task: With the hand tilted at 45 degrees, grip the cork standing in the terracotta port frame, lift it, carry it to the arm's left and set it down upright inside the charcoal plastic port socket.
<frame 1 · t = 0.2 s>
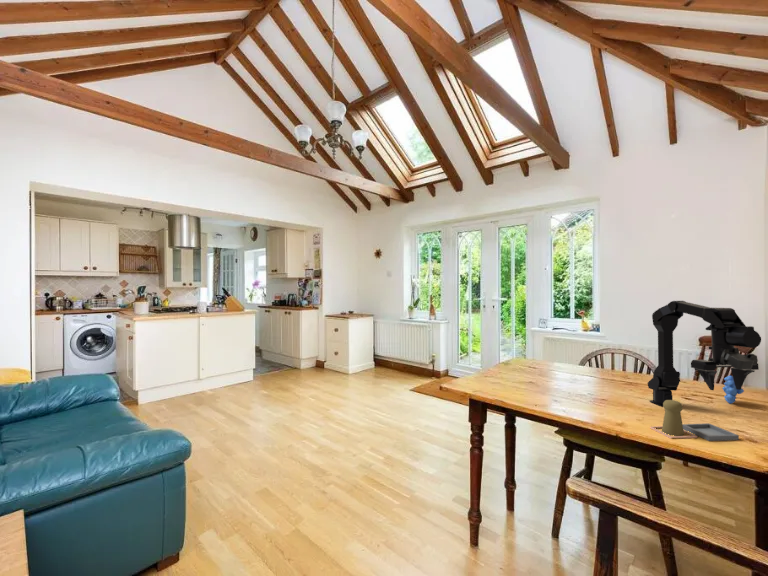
hand: (725, 389, 125), 14 cm above the table, tool pointing down, fingers open, 9 cm apart
grapes: (733, 404, 152), on the table
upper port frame: (672, 432, 124), on the table
lower port socket: (709, 434, 123), on the table
cork: (672, 433, 124), resting in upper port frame
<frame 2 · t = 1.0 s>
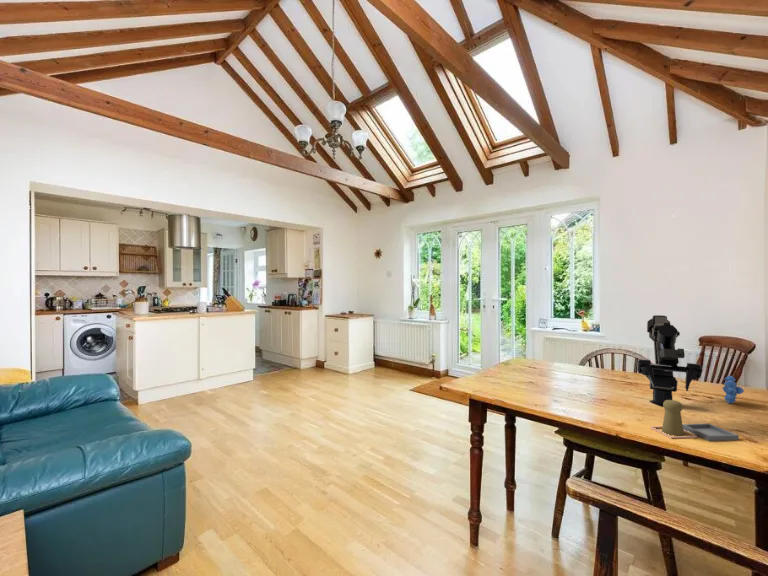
hand: (670, 388, 130), 13 cm above the table, tool tilted 45°, fingers open, 9 cm apart
nothing on the table moved.
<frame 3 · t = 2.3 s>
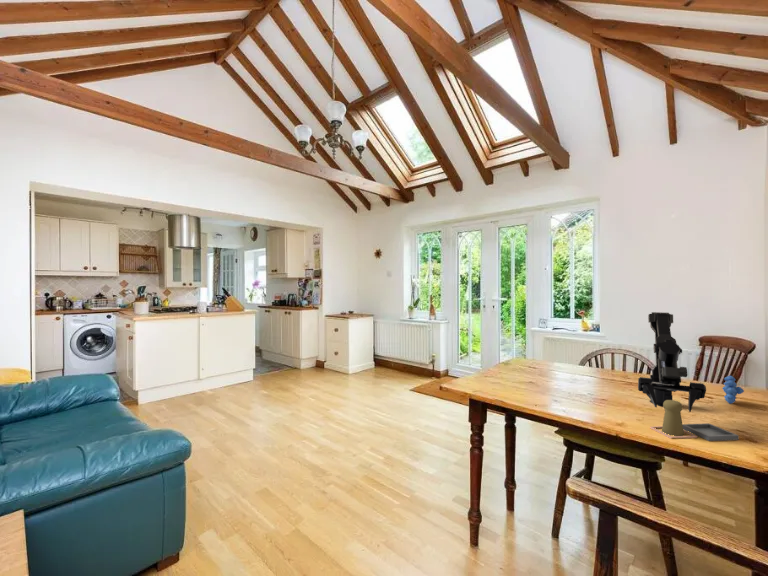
hand: (672, 409, 124), 8 cm above the table, tool tilted 45°, fingers open, 9 cm apart
nothing on the table moved.
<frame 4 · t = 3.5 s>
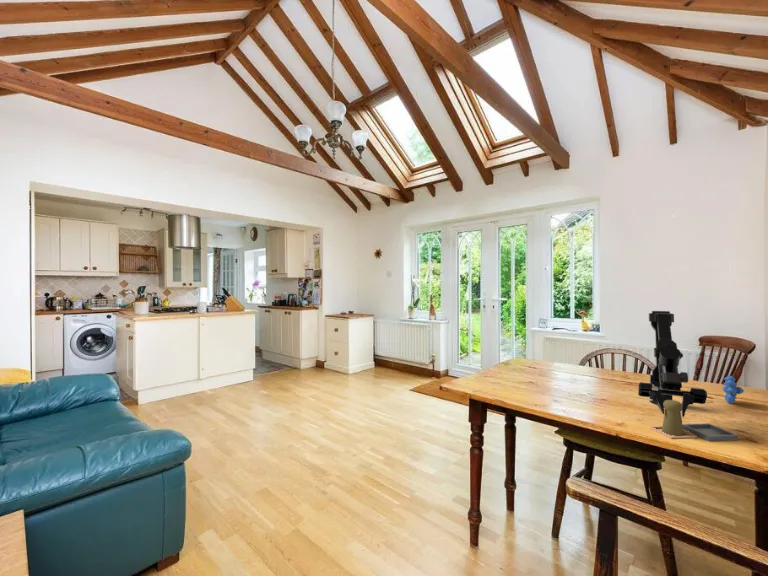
hand: (673, 414, 123), 7 cm above the table, tool tilted 45°, fingers closed on cork, 5 cm apart
cork: (672, 433, 124), resting in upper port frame, touching gripper
everything else where it was.
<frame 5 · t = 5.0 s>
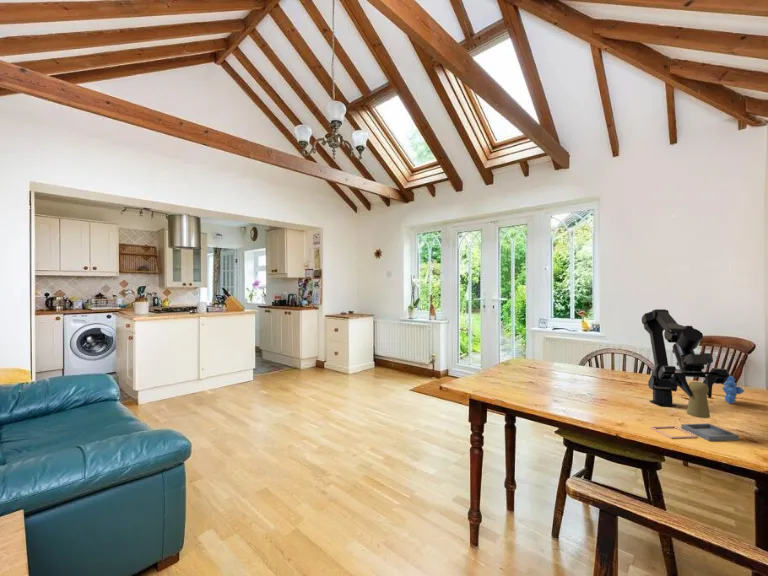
hand: (700, 396, 122), 13 cm above the table, tool tilted 45°, fingers closed on cork, 5 cm apart
cork: (698, 415, 123), point 6 cm above the table, touching gripper
everything else where it was.
when the fingers open (7 cm above the table, at t = 6.7 s): cork stays where it is, resting on lower port socket.
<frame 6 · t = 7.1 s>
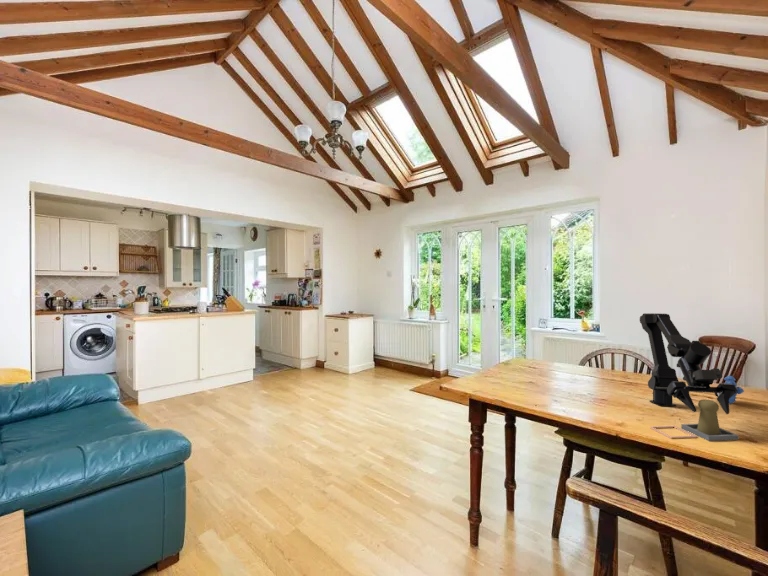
hand: (711, 412, 122), 8 cm above the table, tool tilted 45°, fingers open, 9 cm apart
cork: (708, 433, 123), resting on lower port socket
everything else where it was.
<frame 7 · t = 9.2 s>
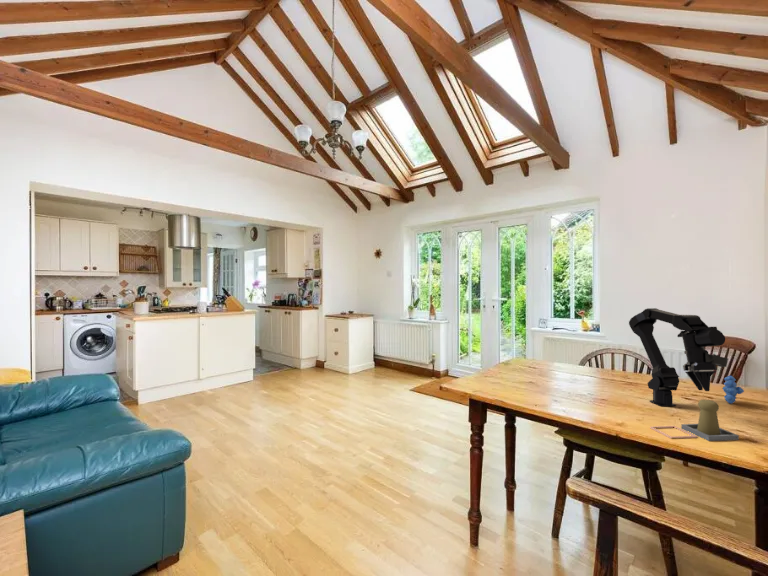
hand: (703, 390, 134), 11 cm above the table, tool pointing down, fingers open, 9 cm apart
nothing on the table moved.
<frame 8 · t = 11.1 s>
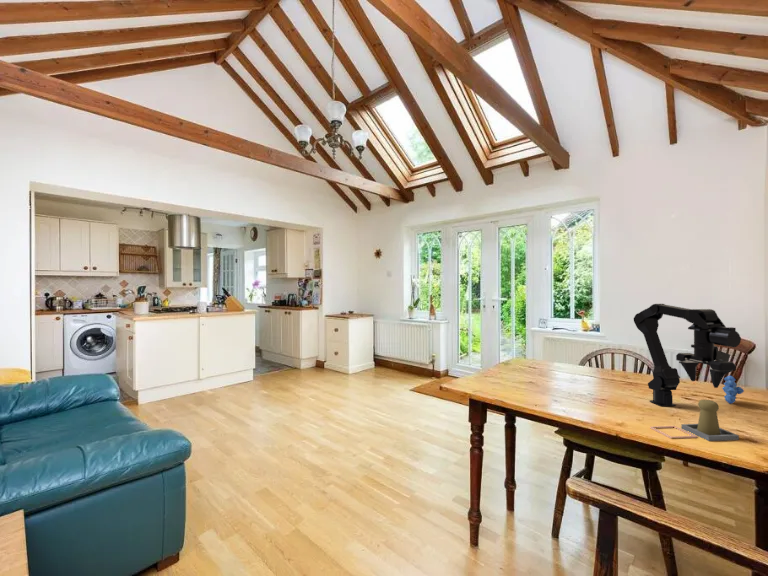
hand: (704, 384, 136), 13 cm above the table, tool pointing down, fingers open, 9 cm apart
nothing on the table moved.
at the end: cork inside the target area on the lower port socket (0.2 cm from its centre), point 0.1 cm above the lower port socket's base; cork tilted 0°; the gripper is holding nothing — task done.
